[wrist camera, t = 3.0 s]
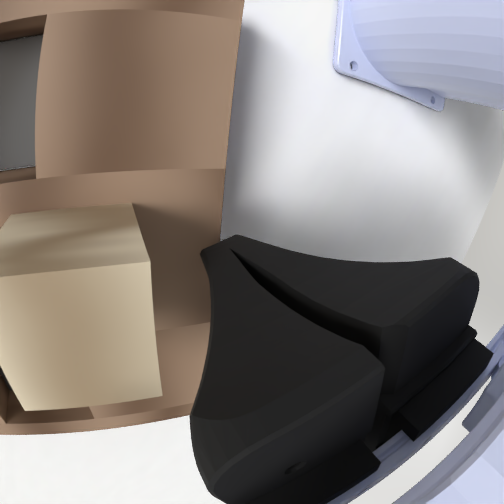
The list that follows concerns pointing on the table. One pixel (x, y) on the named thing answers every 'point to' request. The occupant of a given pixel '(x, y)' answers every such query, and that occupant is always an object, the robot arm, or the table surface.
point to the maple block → (77, 308)
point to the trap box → (124, 159)
